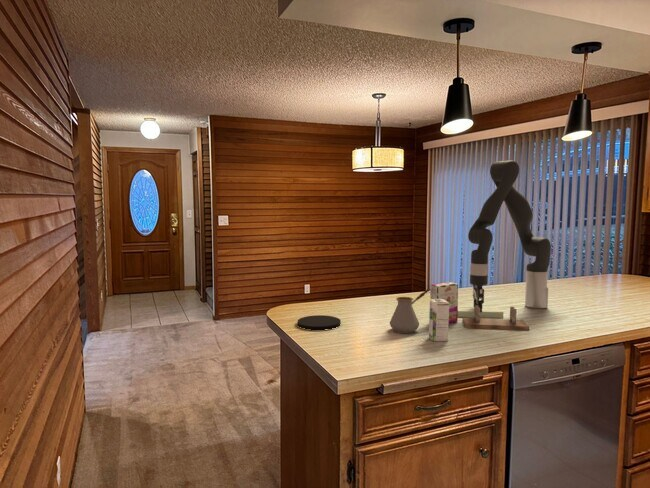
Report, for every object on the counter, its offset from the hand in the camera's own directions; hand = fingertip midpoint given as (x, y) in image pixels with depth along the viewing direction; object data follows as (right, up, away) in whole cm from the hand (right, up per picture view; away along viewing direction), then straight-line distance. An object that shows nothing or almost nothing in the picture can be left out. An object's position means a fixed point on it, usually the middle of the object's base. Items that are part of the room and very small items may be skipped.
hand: (477, 309), depth 201 cm
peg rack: (+2, -4, -16) cm, 17 cm away
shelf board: (0, -3, 0) cm, 3 cm away
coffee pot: (-32, -5, -19) cm, 38 cm away
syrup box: (-26, -6, -34) cm, 43 cm away
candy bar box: (-18, -4, -11) cm, 21 cm away
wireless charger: (-70, -5, -13) cm, 71 cm away
